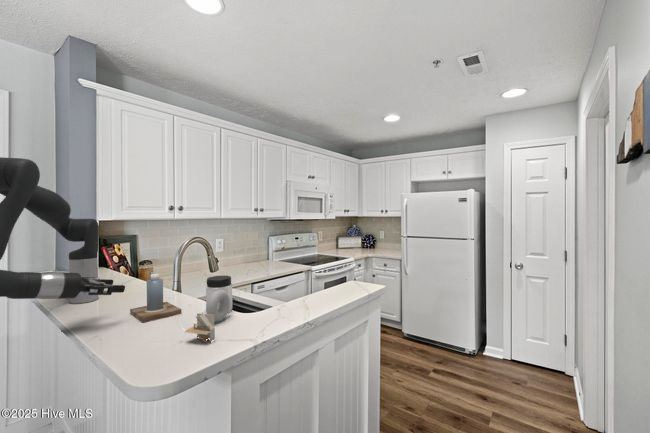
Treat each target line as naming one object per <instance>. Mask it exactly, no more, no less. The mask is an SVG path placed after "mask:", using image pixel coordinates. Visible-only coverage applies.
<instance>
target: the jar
mask: <svg viewBox="0 0 650 433" xmlns="http://www.w3.org/2000/svg"><path fill="white" fill-rule="evenodd" d="M217 290H223V291H225V292H226V293H227V294H228V295H229V298H230V307H229V311H228V314H230V313H231V312H232V310H233V282H232V276H230V275H214V276H209V277H208V278H207V279H206V286H205V305H206V304H207V301H208V299H209V297H210V296H211V295H212V293H214V292H215V291H217ZM218 308H219V303H218V307H217V310H218Z"/></svg>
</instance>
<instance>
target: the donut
mask: <svg viewBox="0 0 650 433" xmlns="http://www.w3.org/2000/svg"><path fill="white" fill-rule="evenodd" d="M218 303H219V308H218V310H217V307H218ZM229 307H230V298H229V295H228V294H227V293H226V292H225V291H223V290H217V291H215V292H214V293H212V295H211V296H210V297H209V299H208V301H207V304H206V303H205V314H210V315H214V323H218V322H219V323H220V322H221V321H223V319H225V317H226V316H228V314H229V313H228V311H229ZM227 313H228V314H227Z"/></svg>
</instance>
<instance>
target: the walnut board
mask: <svg viewBox="0 0 650 433" xmlns="http://www.w3.org/2000/svg"><path fill="white" fill-rule="evenodd" d="M129 313H130V315H132V316H133V317H134V318H136V319H137V320H139V321H140V322H141V323H149V322H151V321H155V320H161V319H165V318H169V317H173V316H177V315H182V308H180V307H179V306H176V305H174V304H172V303H170V302H168V301H163V309H160V310H156V311H148V310H147V305H145V306H138V307H135V308H130V309H129Z"/></svg>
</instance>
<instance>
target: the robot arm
mask: <svg viewBox="0 0 650 433" xmlns="http://www.w3.org/2000/svg"><path fill="white" fill-rule="evenodd" d="M40 173H41V172H40V168H39V167H38V165H37V163H36V162H34V161H33V160H31V159H29V158H22V157H19V158H18V157H4V156H3V157H0V195H2V196H4V198H3V199H2V201H1V202H0V261H2V259H3V257H4V255H5V252H6V249H7V247H8V243H9V240H10V238H11V236H12V235H11V234H12V232H13V230H14V227H15V225H16V224H17V221H18V220H19V218H20V216H21V215H22V213H23V211H24V210H25V209H26V210H27V211H28V212H30V213H31V214H33V215H34V216H35V217H37V218H38V219H40V220H41V221H42V222H43V221H44V222H45V223H46V224H48V225H49V226H50V227H52V229H55V231H56V232H58V234H59V235H61V237H63V239H65V240H66V241H69V242H74V243H77V242H84V245H83V246H81V247H80V248H77V249H75V250H71V251H70V252H68V272H63V271H62V272H61V271H60V272H59V271H58V272H57V271H48V272H47V271H44V272H37V271H36V272H32V271H20V272H19V271H13V270H5V269H0V298H1V297H2V298H4V297H5V298H7V299H11V300H12V299H13V300H29V299H30V300H31V299H37V300H65V299H66V300H68V299H69V304H75V305H76V304H83V303H89V302H90V303H91V302H94V301H96V300H98V299H99V298H100V296H111V295H112V294H113V293H118V294H119V293H120V294H121V293H125V289H126V285H124V284H114V279H108V278H107V279H106V278H105V279H102V278H99V258H98V257H99V255H98V253H99V247H100V246H99V238H100V226H99V222H98V221H97V219H95V218H72V217H70V215H71V212H72V210H71V205H70V204H69V202H68V201H67V200H65V199H64V198H63V197H62V196H61V195H60V194H58V193H57V192H55V191H54V190H53V191H52V190H50V189H48V188H45V187H42V186H40V185H38V184H39V182H40V178H41V177H40V176H41V174H40ZM106 289H107V290H106Z"/></svg>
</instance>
